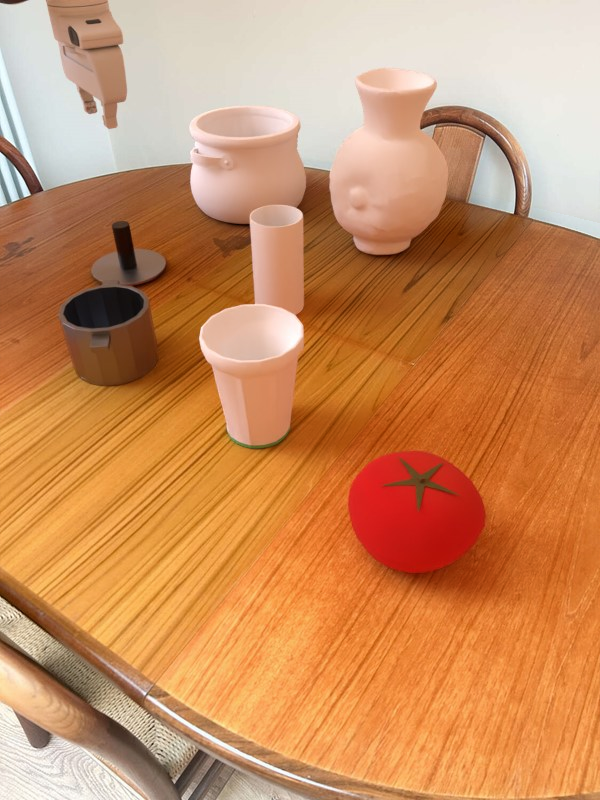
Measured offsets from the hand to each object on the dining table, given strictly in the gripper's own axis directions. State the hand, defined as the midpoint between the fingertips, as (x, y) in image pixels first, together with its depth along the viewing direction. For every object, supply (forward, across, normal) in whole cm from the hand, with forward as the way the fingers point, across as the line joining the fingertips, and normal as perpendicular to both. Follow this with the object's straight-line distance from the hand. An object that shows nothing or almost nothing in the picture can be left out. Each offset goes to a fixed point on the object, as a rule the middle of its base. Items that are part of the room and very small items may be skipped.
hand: (101, 119), depth 108 cm
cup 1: (+26, +30, +15) cm, 42 cm away
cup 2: (+26, +55, -3) cm, 60 cm away
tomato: (+26, +80, +1) cm, 84 cm away
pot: (+26, -9, +31) cm, 41 cm away
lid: (+25, +4, -2) cm, 25 cm away
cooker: (+25, +30, -14) cm, 41 cm away
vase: (+26, +22, +43) cm, 55 cm away
